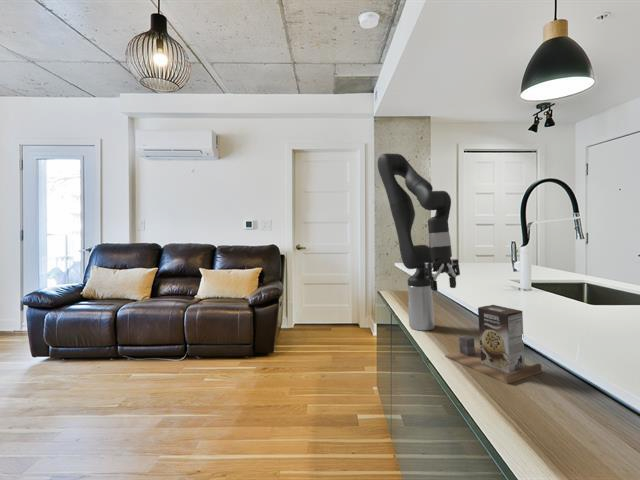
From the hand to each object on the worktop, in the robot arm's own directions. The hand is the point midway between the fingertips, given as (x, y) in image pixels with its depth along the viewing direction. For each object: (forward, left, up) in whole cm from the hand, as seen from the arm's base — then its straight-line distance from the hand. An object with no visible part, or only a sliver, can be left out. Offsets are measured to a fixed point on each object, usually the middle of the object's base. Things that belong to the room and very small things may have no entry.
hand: (443, 289), depth 119 cm
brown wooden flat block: (+25, -8, -17) cm, 32 cm away
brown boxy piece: (+29, -8, -17) cm, 35 cm away
